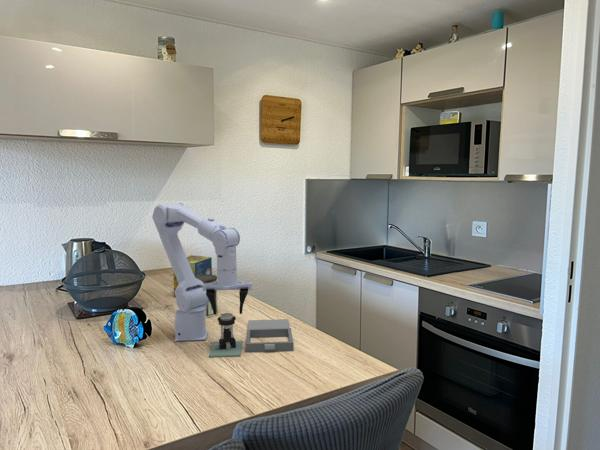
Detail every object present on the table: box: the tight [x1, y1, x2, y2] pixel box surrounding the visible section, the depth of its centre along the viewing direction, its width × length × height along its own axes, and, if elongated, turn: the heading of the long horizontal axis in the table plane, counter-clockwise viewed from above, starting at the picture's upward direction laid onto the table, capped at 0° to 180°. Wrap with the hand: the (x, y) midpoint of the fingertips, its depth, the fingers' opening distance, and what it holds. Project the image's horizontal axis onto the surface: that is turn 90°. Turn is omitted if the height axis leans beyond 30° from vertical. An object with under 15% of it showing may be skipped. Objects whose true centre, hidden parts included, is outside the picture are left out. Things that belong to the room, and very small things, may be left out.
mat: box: [208, 340, 243, 358], centre depth 136 cm, size 9×11×1 cm
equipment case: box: [245, 318, 294, 353], centre depth 147 cm, size 14×27×2 cm, turn 5°
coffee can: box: [194, 274, 219, 319], centre depth 170 cm, size 10×10×14 cm
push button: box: [214, 312, 237, 349], centre depth 136 cm, size 7×5×10 cm
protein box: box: [172, 255, 213, 298], centre depth 199 cm, size 10×15×16 cm
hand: (228, 313), depth 138 cm, fingers open, 7 cm apart
